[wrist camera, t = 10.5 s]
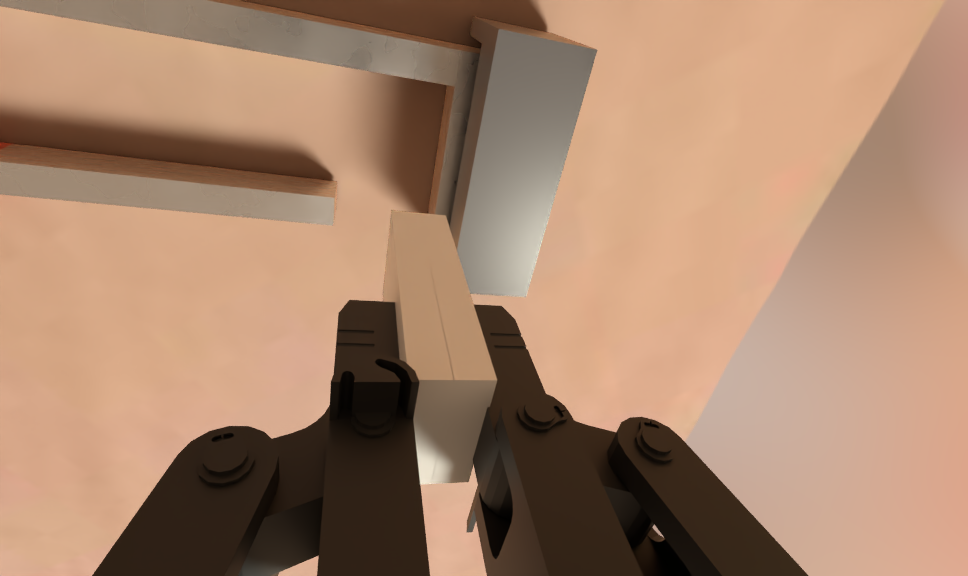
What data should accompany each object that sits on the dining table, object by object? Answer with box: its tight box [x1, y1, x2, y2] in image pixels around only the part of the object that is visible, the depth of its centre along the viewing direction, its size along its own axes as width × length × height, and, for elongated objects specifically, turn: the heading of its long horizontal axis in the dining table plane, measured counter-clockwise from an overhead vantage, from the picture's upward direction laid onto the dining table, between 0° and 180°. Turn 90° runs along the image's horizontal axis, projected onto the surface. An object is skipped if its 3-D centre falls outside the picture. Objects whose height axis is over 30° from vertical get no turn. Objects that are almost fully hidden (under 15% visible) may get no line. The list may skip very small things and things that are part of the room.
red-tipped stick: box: [0, 142, 337, 226], centre depth 23 cm, size 17×2×2 cm, turn 79°
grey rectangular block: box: [450, 16, 597, 297], centre depth 24 cm, size 4×12×6 cm, turn 169°
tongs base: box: [0, 0, 481, 227], centre depth 22 cm, size 28×9×3 cm, turn 79°
